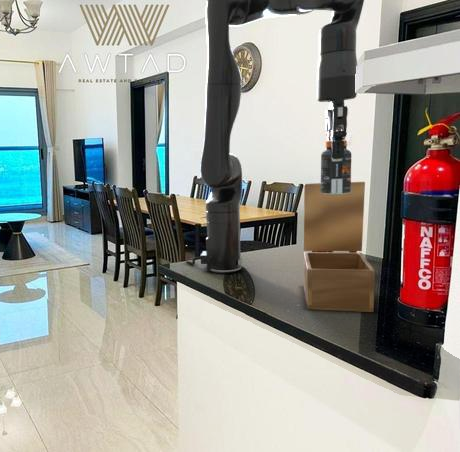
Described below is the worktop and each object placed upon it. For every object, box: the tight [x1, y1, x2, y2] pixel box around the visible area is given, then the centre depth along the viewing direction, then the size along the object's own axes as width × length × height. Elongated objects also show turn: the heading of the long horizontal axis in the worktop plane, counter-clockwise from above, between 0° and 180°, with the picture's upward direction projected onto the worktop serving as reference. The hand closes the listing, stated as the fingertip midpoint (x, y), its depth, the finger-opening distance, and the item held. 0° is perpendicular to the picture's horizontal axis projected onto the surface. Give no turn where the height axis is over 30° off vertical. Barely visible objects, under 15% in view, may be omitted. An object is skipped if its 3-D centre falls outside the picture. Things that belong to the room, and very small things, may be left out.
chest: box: [303, 251, 376, 313], centre depth 102 cm, size 16×13×9 cm
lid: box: [303, 181, 366, 252], centre depth 109 cm, size 16×13×6 cm
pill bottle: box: [320, 139, 352, 194], centre depth 98 cm, size 6×6×11 cm
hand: (335, 157), depth 98 cm, fingers closed on pill bottle, 6 cm apart
